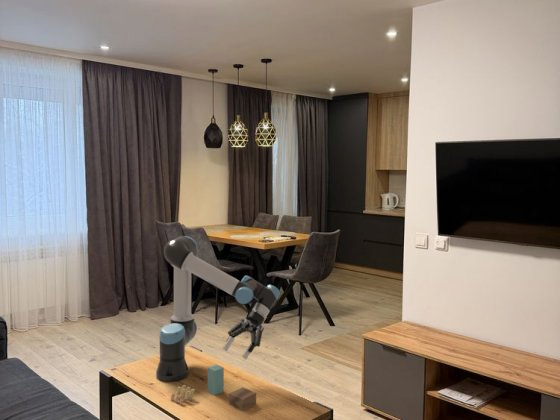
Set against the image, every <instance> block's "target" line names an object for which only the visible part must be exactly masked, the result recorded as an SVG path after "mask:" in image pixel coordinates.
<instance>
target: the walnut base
mask: <svg viewBox="0 0 560 420" xmlns="http://www.w3.org/2000/svg"><path fill="white" fill-rule="evenodd" d="M228 404H229V406H231V407H234V408H236V409H238V410H240V411H242V412H243V411H245V410H246V409H249V408H251V407H254V405H257V392H255V391H253V390H251V389H248V388H245V387H243V386H242V387H240V388H237V389H236V390H234V391H232V392H229V393H228Z"/></svg>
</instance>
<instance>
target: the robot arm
mask: <svg viewBox="0 0 560 420" xmlns="http://www.w3.org/2000/svg"><path fill="white" fill-rule="evenodd" d="M197 252H198V245H197V242H196V241H195V239H193V238H192V237H191V236H187V235H185V236H179V237H176V238H175V239H174V238H173V239H172V240H169V241H168V242H167V243H166V244H165V246H164V248H163V256H164V258H165V259H166V261H167V262H169V263H170V265H171V266H172V267H173V314H172V315H171V316H170V323H169V324H165V325H163V326H162V327H161V328H160V331H159V335H158V336H159V361H158V364H157V369H156V370H155V373H156V374H155V377H156V379H157V380H159V381H162V382H177V381H181V380H184V379H186V378H187V377H189V366H188V364H187V361H186V357H185V356H186V355H185V354H186V353H185V352H186V351H185V350H186V349H185V348H186V346H187V345H188V344H189V343H190V342H191V341H192V340H193V339H194V337H196V333H197V331H198V326H197V323H196V321H195V315H193V314H192V274H193V275H194V276H197V277H198V278H200V279H202V280H204V281H206V282H208V283H209V284H210V285H213V286H215V287H216V288H218V289H220V290H222V291H224V292H226V293H227V294H229V295H231V296H233V297H234V298H235V300H236V301H237V302H238V303H239V304H241V305H246V304H248V303H250V302H251V301H252V300H253V298H254V299H255V300H257V301H256V303H255V304H254V306H253V308H252V310H251V311H250V313H249V314H248V315H247V320H245V319H243V318H241V320H240V321H239V322H238V323H237V324H236V325H234V326H233V327H232V328H231V329H230V330H229V331H228V332H227V334H228V338H227V339H226V341H225V343H224V345H223V347H222V349H223V350H224V351H225V352H227V351H228V350H230V348H231V346H232V344H233V342H234V341H235V338H236V337H238V336H240V335H241V334H243V333H246V332H247V333H249V334H250V341H251V342H250V343H249V344H248V345H247V347H246V349H245V351H244V352H243V354H242V355H241V357H242V358H243V359H244V360H247V359H248V357H249V355H250V354H251V353H252V352H253V350H254V349H255V348H257V347H258V348H259V347H260V346H261V340H262V337H263V335H262V334H263V332H264V329H265V328H264V326H262V325H263V323H264V321H265V319H266V318H267V316H268V315H269V314H270V312H271V310H272V308H273V306H274V305H275V303H276V302H277V300H278V299H279V296H280V294H281V292H280V290H279V288H277V287H276V286H274V285H272V284H267V286H265V285H263V284H262V283H260V282H258V281H257V280H255V279H254V278H253V277H251V276H249V275H244V276H243V278H242V279H241V281H240V280H238V279H237V278H236V277H233V276H232V275H230V274H228V273H226V272H224V271H222V270H221V269H219V268H217V267H216V266H214V265H212V264H210V263H209V262H206V261H204V260H203V259H201V258H199V257H197V256H196V254H197Z"/></svg>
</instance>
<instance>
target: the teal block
mask: <svg viewBox="0 0 560 420" xmlns="http://www.w3.org/2000/svg"><path fill="white" fill-rule="evenodd" d="M224 373H225V370H224V367H223V366H221V365H219V364H214V365H211V366H209V367H207V392H208V393H209V394H211V395H213V396H217V395H219V394H222V393H223V392H224V390H225V389H224V388H225V387H224V385H225V384H224V383H225V382H224V381H225V380H224Z"/></svg>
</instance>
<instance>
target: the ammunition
mask: <svg viewBox="0 0 560 420" xmlns="http://www.w3.org/2000/svg"><path fill="white" fill-rule="evenodd" d="M195 391H196V390H195V389H194V388H191V387H190V386H187V385H185V384H182V386H178V387H177V389H176V392H175V394H174V393H171V396H170V401H174V403H176V404H177V403H178V402H179V406H182V404H183V402H185V401H184V400H188V401H189V402H190V401H192V399H193V397H194V394H195ZM180 397H181V398H180Z"/></svg>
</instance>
